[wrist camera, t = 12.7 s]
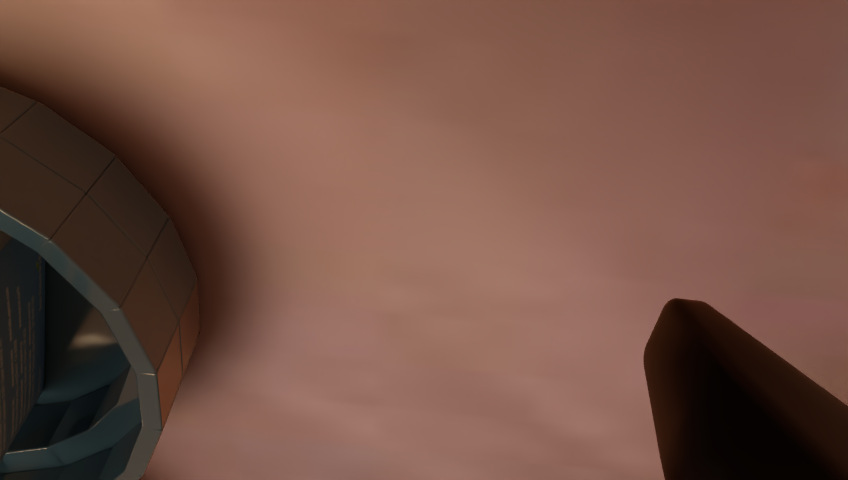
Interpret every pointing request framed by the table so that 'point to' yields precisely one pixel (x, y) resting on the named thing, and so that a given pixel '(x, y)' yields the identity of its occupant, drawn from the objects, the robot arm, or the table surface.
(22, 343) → the blue retail package
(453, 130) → the table surface
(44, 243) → the bowl
